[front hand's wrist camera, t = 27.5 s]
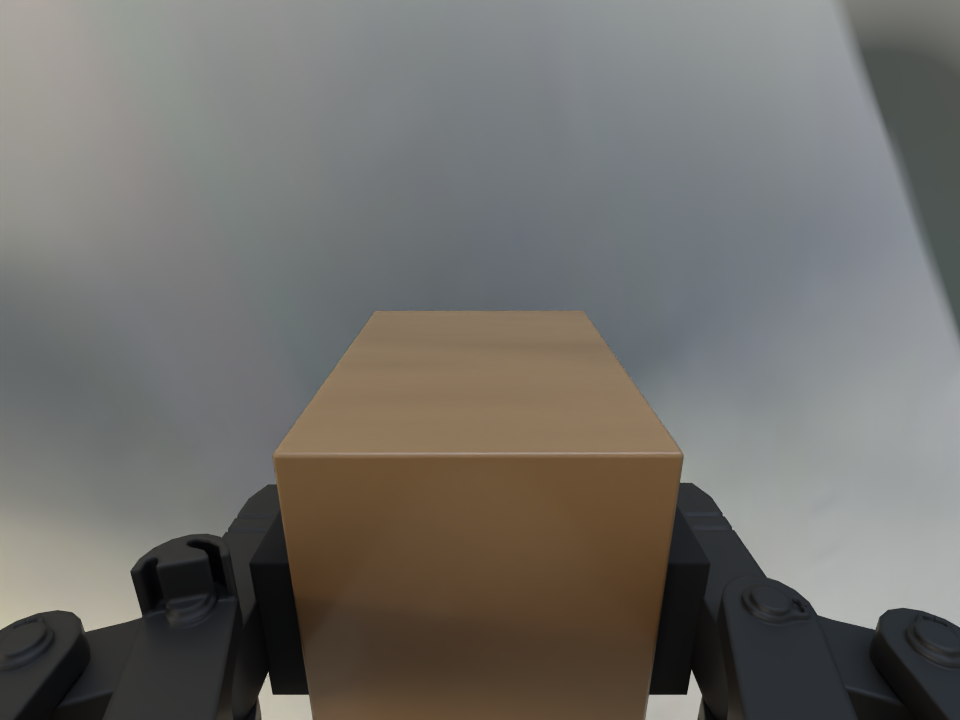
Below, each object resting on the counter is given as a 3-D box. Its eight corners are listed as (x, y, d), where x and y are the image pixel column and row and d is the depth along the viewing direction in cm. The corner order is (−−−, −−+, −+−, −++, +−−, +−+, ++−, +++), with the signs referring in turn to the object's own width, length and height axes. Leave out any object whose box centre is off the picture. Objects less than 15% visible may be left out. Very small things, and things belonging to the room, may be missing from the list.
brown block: (569, 528, 16) (635, 796, 9) (389, 528, 16) (322, 796, 9) (584, 309, 14) (687, 453, 7) (373, 310, 14) (270, 454, 7)
